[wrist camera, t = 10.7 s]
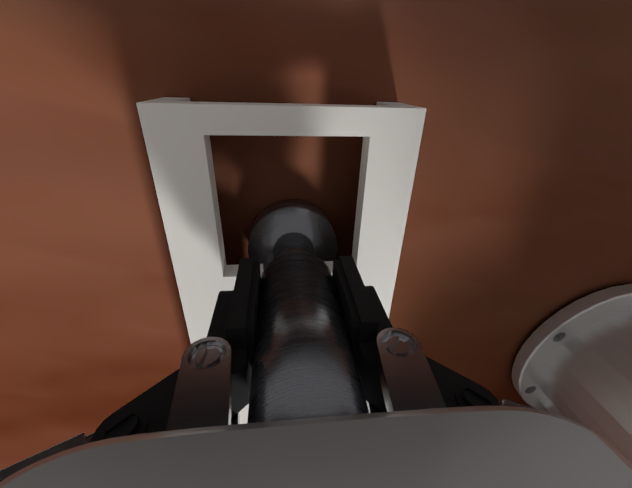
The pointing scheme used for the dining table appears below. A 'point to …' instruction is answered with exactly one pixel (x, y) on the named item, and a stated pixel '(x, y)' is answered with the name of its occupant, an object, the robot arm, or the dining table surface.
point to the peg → (299, 320)
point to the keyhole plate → (274, 120)
